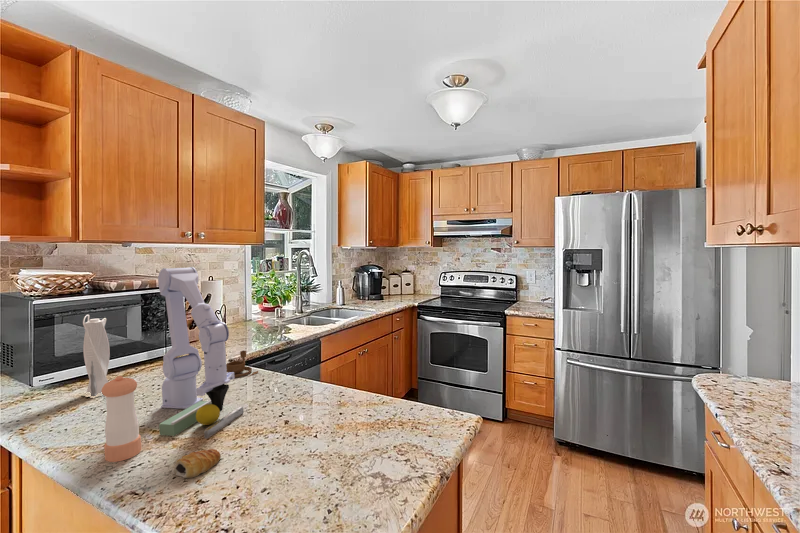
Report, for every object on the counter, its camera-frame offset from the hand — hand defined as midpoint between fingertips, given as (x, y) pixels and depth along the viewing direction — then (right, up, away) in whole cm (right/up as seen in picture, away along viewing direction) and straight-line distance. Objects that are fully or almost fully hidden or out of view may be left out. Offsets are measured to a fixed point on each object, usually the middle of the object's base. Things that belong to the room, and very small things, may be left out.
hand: (218, 410), depth 115 cm
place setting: (-11, -1, +46) cm, 48 cm away
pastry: (+8, -4, -27) cm, 28 cm away
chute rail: (+4, -2, -4) cm, 6 cm away
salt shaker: (-14, -4, -19) cm, 24 cm away
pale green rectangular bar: (-7, -2, -2) cm, 8 cm away
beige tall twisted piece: (-54, -3, +24) cm, 59 cm away
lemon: (0, -1, 0) cm, 1 cm away
